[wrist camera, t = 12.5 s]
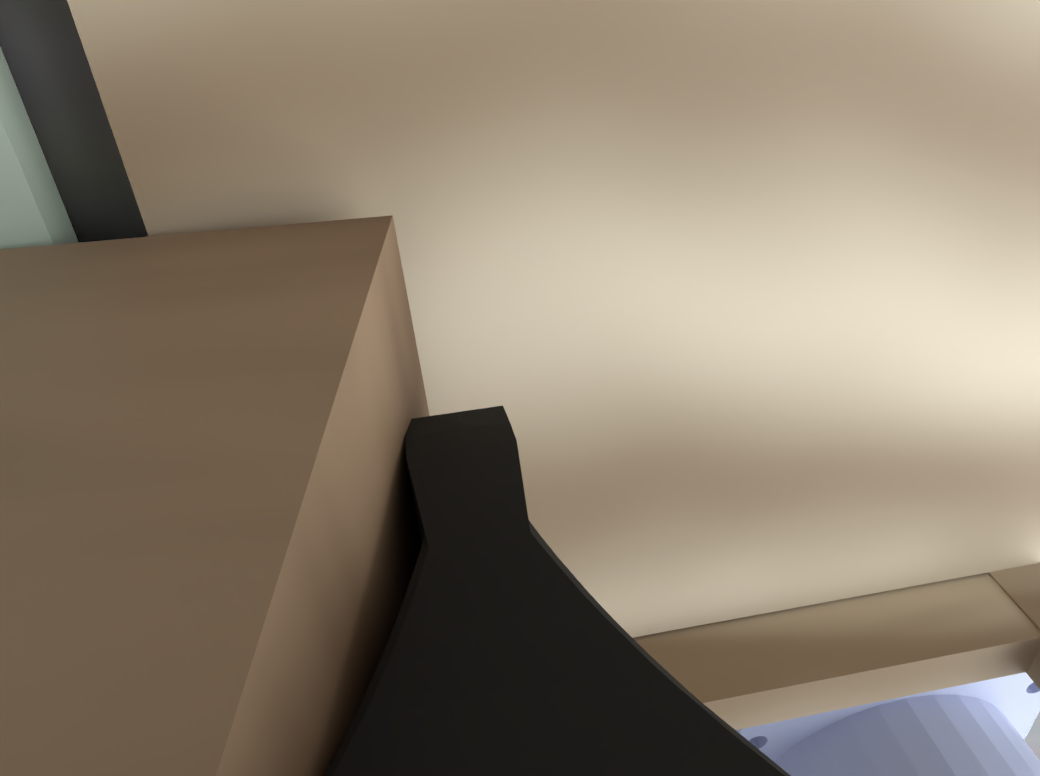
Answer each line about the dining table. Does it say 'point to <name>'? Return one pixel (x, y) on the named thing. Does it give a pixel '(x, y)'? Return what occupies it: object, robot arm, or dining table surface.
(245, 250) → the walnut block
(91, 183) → the dining table surface
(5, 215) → the panel
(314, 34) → the cart bed
